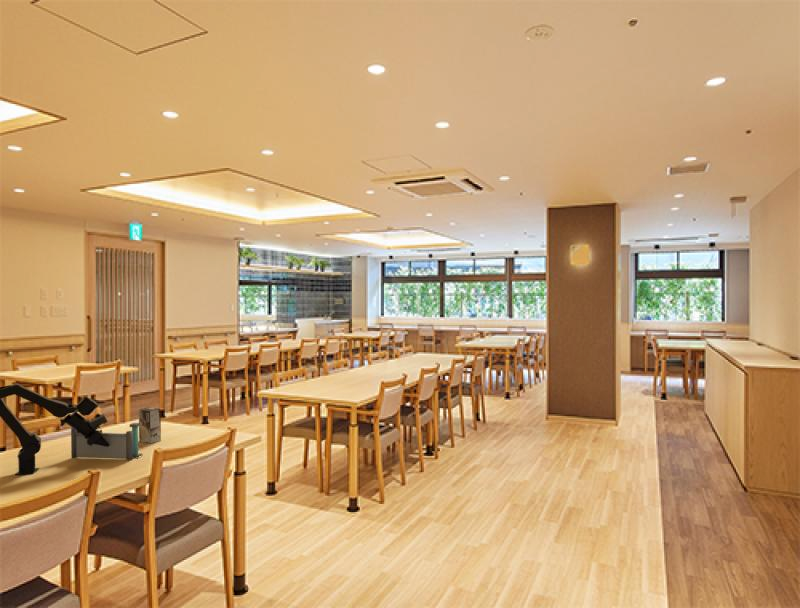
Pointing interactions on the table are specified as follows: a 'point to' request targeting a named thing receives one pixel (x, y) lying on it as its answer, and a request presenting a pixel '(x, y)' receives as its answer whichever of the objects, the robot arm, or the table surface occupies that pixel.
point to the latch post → (135, 439)
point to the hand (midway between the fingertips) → (108, 445)
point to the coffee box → (150, 425)
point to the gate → (116, 450)
